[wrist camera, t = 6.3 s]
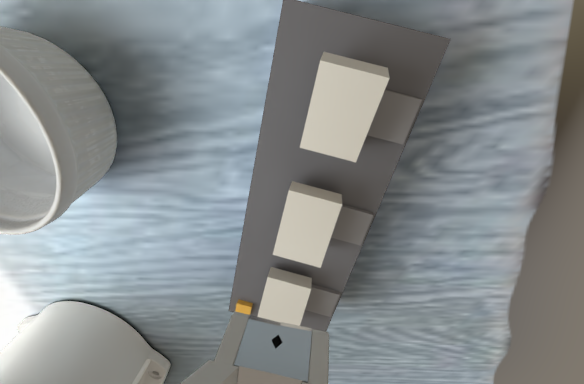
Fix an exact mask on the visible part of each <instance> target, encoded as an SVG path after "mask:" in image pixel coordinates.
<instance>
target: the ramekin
mask: <svg viewBox="0 0 584 384" xmlns="http://www.w3.org/2000/svg"><path fill="white" fill-rule="evenodd" d="M116 148H117V132H116V124H115V119H114V116H113V113H112V110H111V107H110V105H109V103H108V101H107V99H106V97H105V95H104V93H103V91H102V90H101V88H100V87H99V85H98V84H97V83H96V81H95V80H94V79H93V77H92V76H91V75H90V74H89V73H88V72H87V71H86V70H85V69H84V68H83V67H82V66H81V65H80V64H79V63H78V62H77V61H76V60H75V59H74V58H73V57H71V56H70V55H69V54H68V53H67V52H65V51H64V50H62V49H61V48H59V47H58V46H56V45H55V44H53V43H51V42H49V41H47V40H46V39H44V38H41V37H39V36H35V35H33V34H31V33H28V32H24V31H20V30H16V29H12V28H6V27H1V26H0V234H9V235H19V234H25V233H29V232H33V231H36V230H38V229H40V228H42V227H44V226H45V225H47V224H49V223H51V222H53V221H54V220H56V219H57V218H59V217H60V216H61V215H62V214H63V213H64V212H65V211H66V210H67V209H68V208H69V206H70V205H71V203H72V202H74V201H75V200H76V199H78V198H79V197H80V196H81V195H83V194H84V193H85V192H86V191H87V190H89V189H90V188H91V187H92V186H93V185H95V184H96V183H97V182H98V181H99V180H100V179H102V178H103V176H104V175H105V174H106V173H107V171H108V170H109V168H110V166H111V165H112V163H113V160H114V157H115V155H116Z"/></svg>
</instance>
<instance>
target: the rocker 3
mask: <svg viewBox="0 0 584 384" xmlns="http://www.w3.org/2000/svg"><path fill="white" fill-rule="evenodd" d="M389 78H390V77H389V72H388V68H386V67H383V66H379V65H375V64H371V63H367V62H363V61H359V60H355V59H351V58H347V57H343V56H339V55H335V54H332V53H328V52H323V55H322V57H321V59H320V63H319V67H318V72H317V76H316V80H315V84H314V89H313V93H312V97H311V101H310V106H309V110H308V114H307V118H306V123H305V127H304V131H303V135H302V140H301V144H300V148H303V149H307V150H311V151H314V152H318V153H322V154H326V155H330V156H333V157H337V158H341V159H345V160H348V161H352V162H356V161H357V158H358V156H359V153H360V151H361V148H362V146H363V143H364V141H365V138H366V136H367V133H368V131H369V128H370V126H371V123H372V121H373V118H374V116H375V113H376V111H377V108H378V106H379V103H380V101H381V98H382V96H383V93H384V91H385V88H386V86H387V83H388V81H389Z"/></svg>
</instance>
